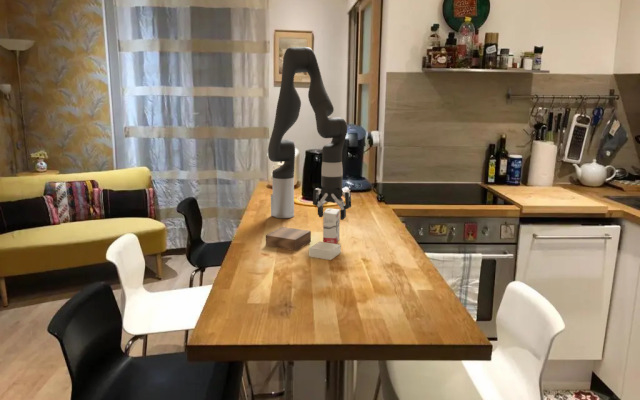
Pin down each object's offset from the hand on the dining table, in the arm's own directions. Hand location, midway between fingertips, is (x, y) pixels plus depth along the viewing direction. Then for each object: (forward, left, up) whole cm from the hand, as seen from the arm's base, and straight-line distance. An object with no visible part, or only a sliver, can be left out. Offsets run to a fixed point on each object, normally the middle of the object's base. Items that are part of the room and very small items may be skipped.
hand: (331, 218), depth 188 cm
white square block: (+4, -14, -9) cm, 17 cm away
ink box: (0, 0, -9) cm, 9 cm away
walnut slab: (-13, -9, -9) cm, 18 cm away
